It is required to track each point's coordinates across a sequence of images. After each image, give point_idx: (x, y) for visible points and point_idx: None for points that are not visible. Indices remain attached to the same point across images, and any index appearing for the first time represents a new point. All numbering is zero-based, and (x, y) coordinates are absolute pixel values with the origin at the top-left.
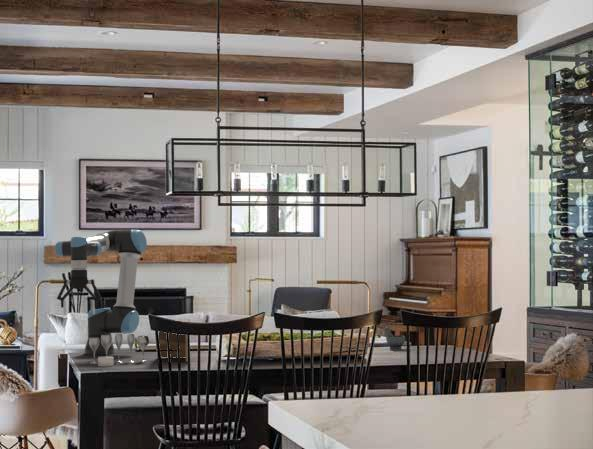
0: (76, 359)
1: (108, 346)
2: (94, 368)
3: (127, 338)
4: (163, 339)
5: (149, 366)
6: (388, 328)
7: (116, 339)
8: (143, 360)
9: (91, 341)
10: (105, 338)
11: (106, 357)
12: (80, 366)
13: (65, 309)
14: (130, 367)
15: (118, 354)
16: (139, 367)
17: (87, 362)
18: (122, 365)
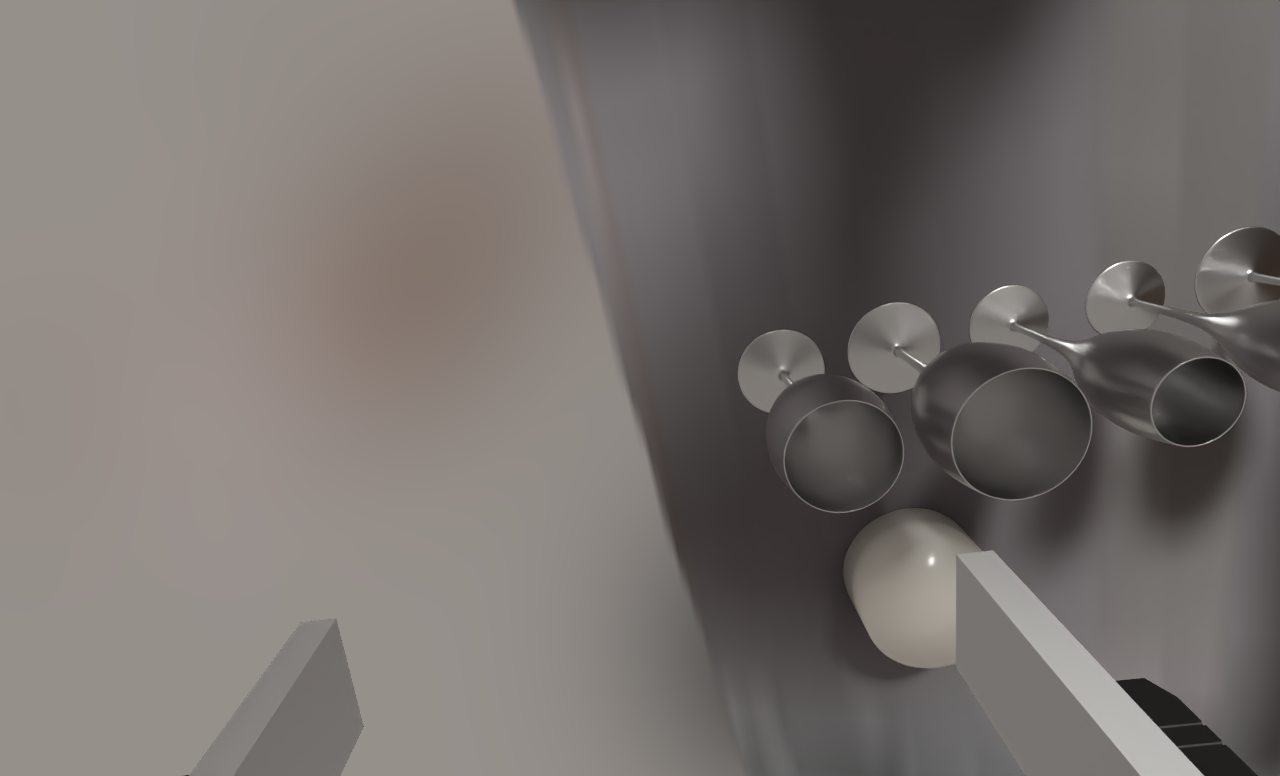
0: (533, 34)
1: (981, 420)
2: (837, 735)
3: (1273, 377)
4: None
5: (1268, 652)
6: None
7: (1122, 427)
8: (1253, 287)
9: (805, 497)
10: (992, 491)
11: (944, 638)
12: (702, 612)
13: (299, 735)
14: None
15: (1043, 343)
16: (1185, 704)
17: (708, 329)
18: (1049, 574)
